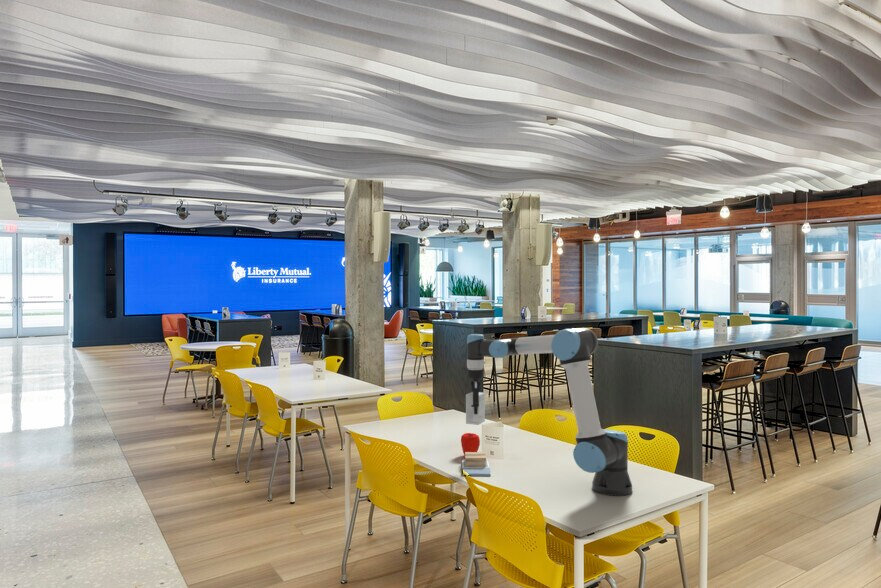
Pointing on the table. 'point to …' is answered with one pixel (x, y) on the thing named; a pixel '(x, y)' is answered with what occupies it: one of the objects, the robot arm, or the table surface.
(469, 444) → the apple
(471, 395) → the small box
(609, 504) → the table surface
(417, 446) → the table surface
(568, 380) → the robot arm
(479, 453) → the plinth
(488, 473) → the board
